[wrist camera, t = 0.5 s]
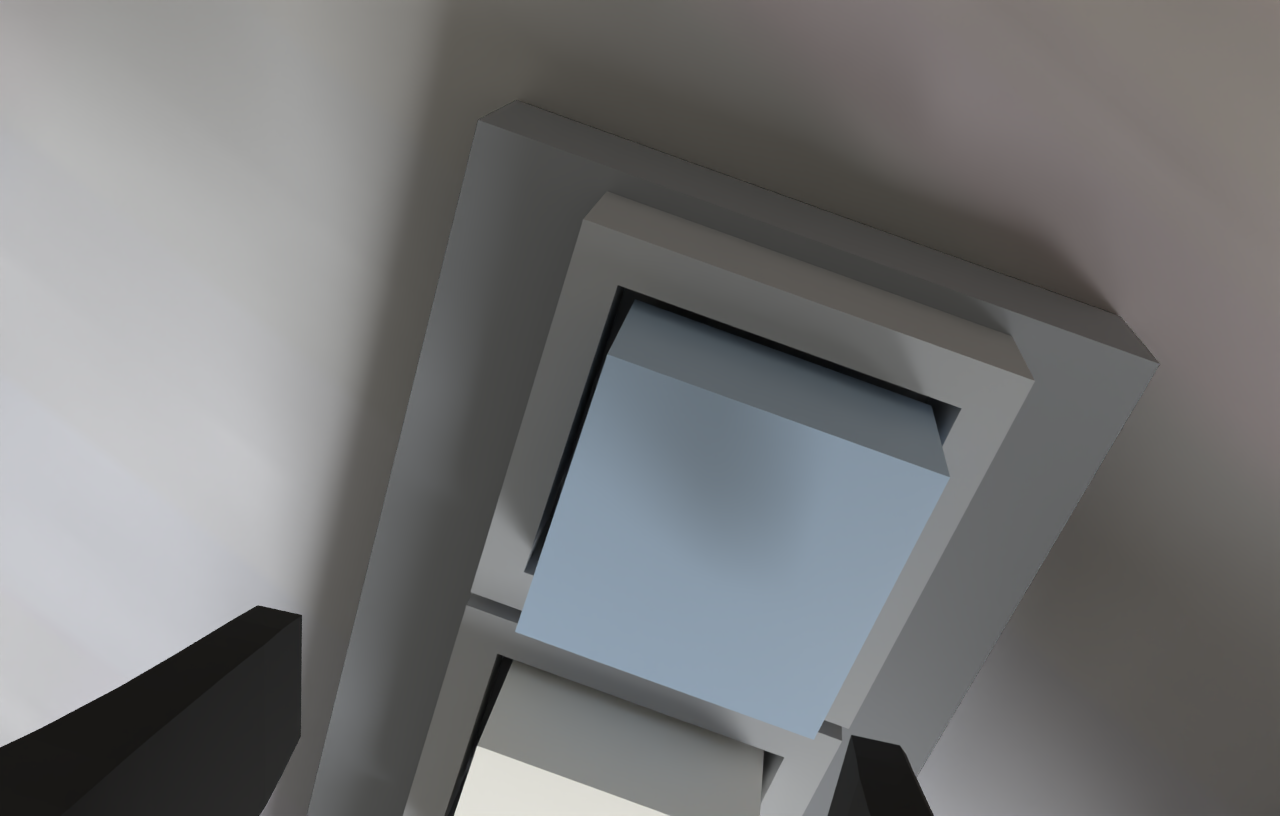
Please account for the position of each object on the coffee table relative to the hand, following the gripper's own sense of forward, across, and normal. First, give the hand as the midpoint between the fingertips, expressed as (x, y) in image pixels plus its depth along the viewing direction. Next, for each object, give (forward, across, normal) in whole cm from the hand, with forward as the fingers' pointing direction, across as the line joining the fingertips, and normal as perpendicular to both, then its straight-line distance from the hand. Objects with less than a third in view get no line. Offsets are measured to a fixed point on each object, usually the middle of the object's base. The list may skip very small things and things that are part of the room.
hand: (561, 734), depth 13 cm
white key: (+5, 0, +6) cm, 8 cm away
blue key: (+5, -2, -1) cm, 6 cm away
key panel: (+9, 0, +6) cm, 11 cm away
